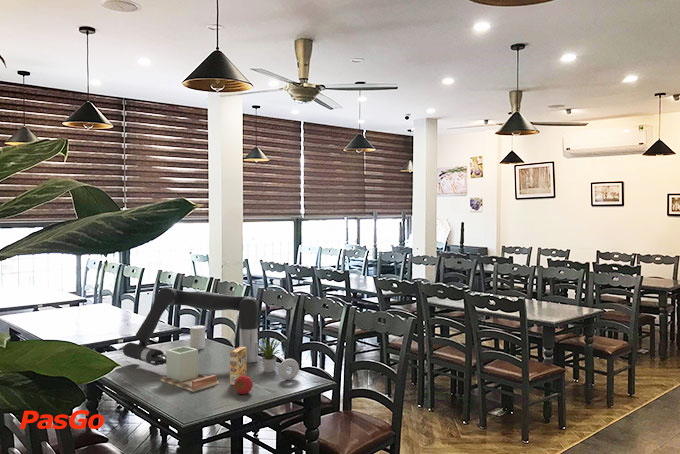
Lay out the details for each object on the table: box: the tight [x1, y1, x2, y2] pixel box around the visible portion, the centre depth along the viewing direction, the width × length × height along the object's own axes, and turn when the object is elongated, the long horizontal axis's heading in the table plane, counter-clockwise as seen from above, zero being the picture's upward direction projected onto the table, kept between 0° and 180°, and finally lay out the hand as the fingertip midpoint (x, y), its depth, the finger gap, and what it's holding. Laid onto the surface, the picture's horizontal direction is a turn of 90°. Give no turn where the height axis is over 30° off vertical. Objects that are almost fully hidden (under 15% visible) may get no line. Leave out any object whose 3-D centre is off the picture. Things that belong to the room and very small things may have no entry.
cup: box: [189, 325, 206, 351], centre depth 310 cm, size 8×8×12 cm
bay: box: [160, 373, 220, 393], centre depth 247 cm, size 24×14×4 cm, turn 52°
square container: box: [165, 345, 199, 382], centre depth 251 cm, size 10×10×13 cm
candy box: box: [229, 346, 248, 386], centre depth 248 cm, size 9×4×15 cm, turn 162°
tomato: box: [234, 375, 254, 395], centre depth 232 cm, size 8×8×8 cm
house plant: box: [257, 337, 286, 373], centre depth 268 cm, size 14×14×16 cm
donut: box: [277, 358, 300, 381], centre depth 252 cm, size 10×4×10 cm, turn 116°
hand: (173, 362), depth 255 cm, fingers closed
